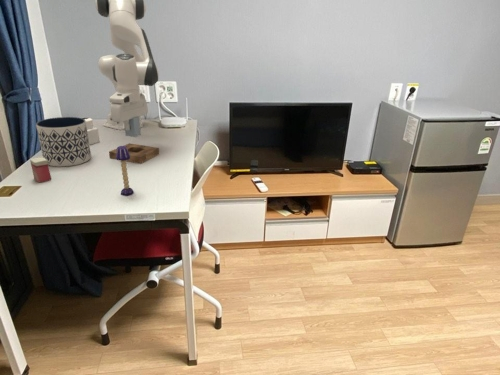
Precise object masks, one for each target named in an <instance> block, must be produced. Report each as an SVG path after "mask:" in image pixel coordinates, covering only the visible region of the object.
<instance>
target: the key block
mask: <svg viewBox="0 0 500 375" xmlns="http://www.w3.org/2000/svg"><path fill="white" fill-rule="evenodd" d="M141 121H142V119H141V120H139V117H135V118H132V119H129V122H128V123H129V125H130V126H131V129H130V130H126V128H125V130H124V135H125V137H132V138H137V137H140V136H142V134H141V133H142V132H141V127H140V122H141ZM124 127H125V125H124Z"/></svg>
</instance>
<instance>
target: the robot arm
mask: <svg viewBox="0 0 500 375" xmlns="http://www.w3.org/2000/svg"><path fill="white" fill-rule="evenodd" d="M94 4H95V5H94V6H95V8H96V11H97V13H98V14H99V15H100V16H101V17H104V18H109V27H110V40H111V44H112V46H114V47H115V48H116V49H118V50H120V51H122V52H123V53H118V54H108V55H104V56H100V58H99V60H98V63H97V64H98V69H99V72H100V73H101V74H102V75H103V76H105V77H106V78H108V79H109V80H110V81H111V83H112V85H113V86H114V89H115V92H114V93H113V94H112V95H111V96H109V99H108V100H109V102H110V103H111V104H110V107H109V108H110V112H109V113H108V114H107V117H106V118H107V119H106V122H104V123H103V126H102V127H105V128H106V127H107V128H111V129H115V130H118V131H125V128H126V130H130V129H131V126H130V125H129V123H128V122H129V119H132V118H135V117H139V120H141V122H140V128H143V127H144V124H143V122H142V119H141V117H143V116H145V115H148V113H149V108H148V102H147V99H146V97H145V95H144V94H143V93H142V92H141V91H140V86H145V87H147V86H148V87H153V86H155V85H156V84H157V82H159V79H160V78H159V76H160V75H159V70H158V67H157V65H156V61H155V59H154V56H153V54H152V49H151V47H150V42H149V39H148V37H147V34H146V31H145V30H144V29H143V28H142V27H140V26H139V25H138V23H137V20H142V19H143V18H144V17H145V14H146V9H147V8H146V3H145V1H144V0H95V1H94ZM136 46H137V47H138V48H139V49H140V52H141V53H140V52H139V51H138V49H137V47H136ZM124 125H125V127H124Z"/></svg>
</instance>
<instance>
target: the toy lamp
mask: <svg viewBox="0 0 500 375" xmlns="http://www.w3.org/2000/svg"><path fill="white" fill-rule="evenodd" d="M116 149H117V151H116V159H115V160H117V161H120V166H121V175H122V181H123V188H122V189H121V191H120V195H122V196H124V197H126V196H131V195H133V194H134V193H135V192H134V189H133V188H131V187H130V184H129V183H130V181H129V175H128V173H129V172H128V168H127V161H126V160H128V159H130V154H129V152H128V149H127V147H126V146H124V145H119V146H117V147H116Z"/></svg>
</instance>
